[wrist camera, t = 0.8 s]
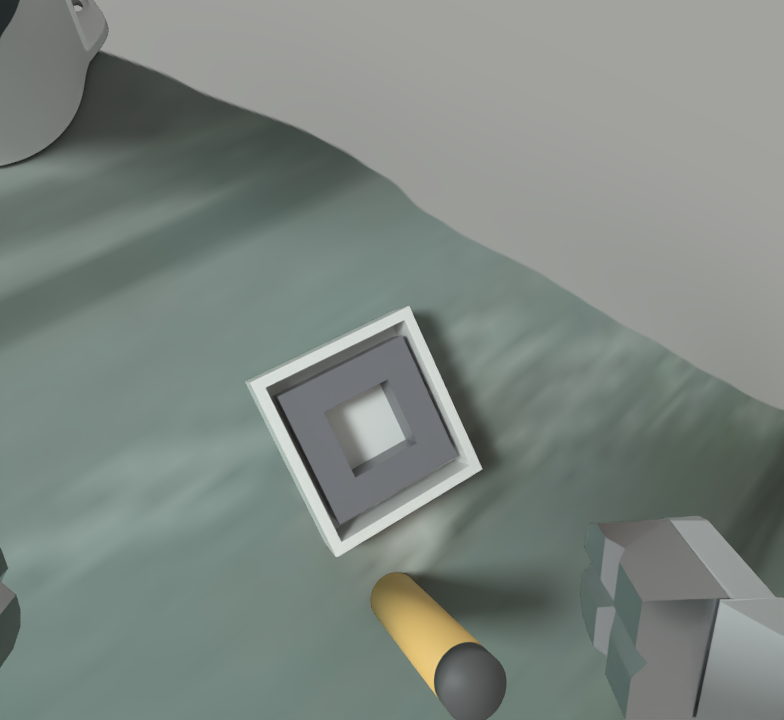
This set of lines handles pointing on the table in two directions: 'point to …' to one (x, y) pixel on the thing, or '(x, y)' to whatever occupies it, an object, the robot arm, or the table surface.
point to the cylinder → (440, 648)
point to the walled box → (365, 428)
